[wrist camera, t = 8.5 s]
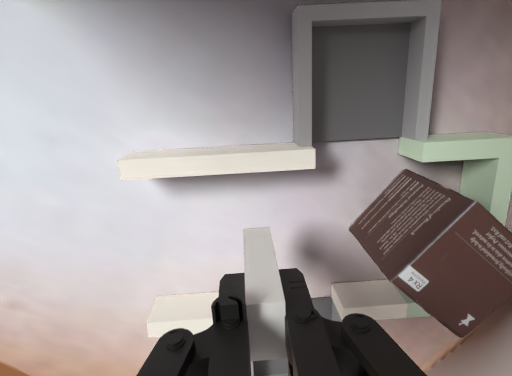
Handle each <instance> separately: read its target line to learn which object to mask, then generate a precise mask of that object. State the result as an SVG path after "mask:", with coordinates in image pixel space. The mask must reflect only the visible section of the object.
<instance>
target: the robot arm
mask: <svg viewBox="0 0 512 376" xmlns="http://www.w3.org/2000/svg"><path fill="white" fill-rule="evenodd" d="M243 232H244V269H245V273H236V274H225V275H224V276H223V278H222V279H221V280H220V286H219V296H218V298H216V299H215V300H214V301H213V303H212V305H211V310H212V318H213V325H212V326H211V327H209V328H208V329H206V330H204V331H202V332H200V333H197V334H194V335H193V333H192V332H191V331H189V330H188V329H184V328H177V329H173V330H170V331H168V332H167V333H165V334H163V335H162V337H161V338H160V339H159V340H158V342H157V343H156V345H155V347H154V348H153V350H152V352H151V353H150V355H149V356H148V358H147V360H146V361H145V363H144V364H143V366H142V368H141V369H140V371H139V373H138V374H137V376H251V362H250V361H261V360H273V359H285V358H287V357H288V376H427V375H426V374H425V373H424V372H423V371H422V370H421V369H420V368H419V367H418V366H417V365H416V364H415V363H414V362H413V360H412V359H411V358H410V357H409V356H408V355H407V354H406V353H405V352H404V351H403V350H402V349H401V348H400V347H399V346H398V344H397V343H396V342H395V341H394V340H393V339H392V338H391V337H390V336H389V335H388V334H387V333H386V332H385V331H384V329H383V328H382V327H381V326H380V325H379V324H378V323H377V322H376V321H375V320H374V319H372V318H371V317H369V316H367V315H364V314H359V313H353V314H349V315H347V316H345V317H344V319H343V320H342V322H339V321H333V320H329V319H326V318H324V317H322V316H321V315H320V314H319V312H318V311H317V310H316V309H314V306H313V303H312V300H311V297H310V294H309V291H308V288H307V285H306V282H305V279H304V276H303V274H302V273H301V272H300V271H299V270H298V269H297V268H293V269H280V270H278V265H277V260H276V256H275V251H274V246H273V241H272V237H271V232H270V227H263V228H248V229H243Z"/></svg>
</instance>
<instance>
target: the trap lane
mask: <svg viewBox="0 0 512 376" xmlns="http://www.w3.org/2000/svg"><path fill="white" fill-rule="evenodd" d="M441 6H442V0H409V1H385V2H362V3H338V4H315V5H297V7H296V8H295V10H294V11H293V13H292V70H293V134H294V142H292V143H274V144H257V145H239V146H221V147H204V148H186V149H168V150H151V151H134V152H132V153H130V154H128V155H126V156H125V157H123V158H121V159H119V160H117V161H118V166H119V172H120V178H121V180H136V179H153V178H169V177H186V176H203V175H220V174H237V173H253V172H270V171H287V170H304V169H315V148H314V147H312V142H321V141H339V140H357V139H374V138H392V137H399V148H398V154H400V155H403V156H406V157H408V158H411V159H414V160H417V161H419V162H438V161H455V160H464V163H463V170H462V177H461V184H460V192H459V194H461V195H463V196H465V197H468V198H470V199H472V200H475V201H477V202H479V203H480V204H481V205H482V206H484V207H485V209H487V210H488V211H489V212H490V213H491V214H492V215H493V216H494V217H495V218H496V219H497V220H498V221H499V222H500V223H502V224H503V225H504V226H505V224H506V218H507V213H508V208H509V202H510V197H511V192H512V136H511V135H505V134H498V133H491V132H468V133H451V134H433V135H428V130H429V121H430V111H431V101H432V92H433V82H434V73H435V63H436V53H437V44H438V34H439V25H440V15H441ZM218 296H219V292H207V293H193V294H179V295H165V296H157V298H156V301H155V303H154V305H153V308H152V310H151V313H150V315H149V317H148V320H147V322H146V325H147V330H148V336H149V338H151V337H162V335H163V334H165V333H167V332H168V331H170V330H173V329H177V328H184V329H188V330H189V331H191V332H192V333H193V334H197V333H200V332H202V331H204V330H206V329H208V328H209V327H211V326H212V325H213V318H212V310H211V305H212V303H213V301H214V300H215V299H216V298H218ZM311 300H312V303H313V306H314V309H316V310H317V311H318V312H319V314H320V315H321V316H322V317H324V318H326V319H329V320H333V321H339V322H342V320H343V319H344V317H345V316H347V315H349V314H353V313H359V314H364V315H367V316H369V317H371V318H372V319H374V320H388V319H401V318H414V317H428V316H431V315H429V314H428V313H427V312H425V311H424V310H423V309H422V308H421V307H420V306H419V305H418V304H416V303H415V302H414V301H413V300H411V299H410V298H409V297H408V296H406V295H405V294H404V293H402V292H401V291H400V290H399V289H397V288H396V287H395V286H394V285H392V284H391V283H390V282H389V280H374V281H360V282H346V283H332V284H331V297H321V298H311ZM250 362H251V376H288V357H287V358H285V359H273V360H261V361H250Z"/></svg>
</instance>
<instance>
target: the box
mask: <svg viewBox="0 0 512 376" xmlns="http://www.w3.org/2000/svg"><path fill="white" fill-rule="evenodd" d="M349 231H350V232H351V233H352V234H353V235H354V236H355V237H356V239H357V240H358V241H359V243H360V244H361V245H362V247H363V248H364V249H365V250H366V252H367V253H368V254H369V256H370V257H371V258H372V259H373V261H374V262H375V263H376V264H377V266H378V267H379V268H380V270H381V271H382V272H383V273H384V274H385V276H386V277H387V279H388V280H389V282H390V283H391V284H392V285H394V286H395V287H396V288H397V289H399V290H400V291H401V292H402V293H404V294H405V295H406V296H408V297H409V298H410V299H411V300H413V301H414V302H415V303H416V304H418V305H419V306H420V307H421V308H422V309H423V310H424V311H425V312H427V313H428V314H429V315H431V316H432V317H434V318H436V319H437V320H438V321H439V322H440V323H442V324H443V325H444V326H445V327H447V328H448V329H449V330H450V331H451V332H453V333H454V334H455V335H457V336H459V337H461V338H462V337H464V336H465V335H467V334H468V333H469V332H470V331H471V330H473V329H474V328H475V327H476V326H477V325H478V324H479V323H480V322H481V321H482V320H483V319H485V318H486V317H487V316H488V315H489V314H490V313H491V312H493V311H494V310H495V309H496V308H497V307H499V305H501V304H502V303H503V302H504V301H505V300H506V299H508V298H509V297H510V296H511V295H512V233H511V232H510V231H509V230H508V229H507V228H506V227H505V226H504V225H503V224H502V223H500V222H499V221H498V220H497V219H496V218H495V217H494V216H493V215H492V214H491V213H490V212H489V211H488V210H487V209H485V207H484V206H482V205H481V204H480V203H479V202H477V201H475V200H472V199H470V198H468V197H465V196H463V195H461V194H459V193H457V192H455V191H453V190H451V189H449V188H447V187H445V186H442V185H440V184H438V183H436V182H434V181H432V180H429V179H427V178H425V177H423V176H421V175H418V174H416V173H414V172H412V171H410V170H408V169H405V170H403V171H401V173H400V174H399V175H398V176H397V177H396V178H395V179H394V180H393V181H392V182H391V183H390V184H389V185H388V187H387V188H386V189H385V190H384V191H383V192H382V193H381V194H380V195H379V196H378V197H377V198H376V200H374V202H373V203H372V204H371V205H370V206H369V207H368V208H367V209H366V210H365V211H364V212H363V213H362V214H361V215H360V216H359V217H358V218H357V219H356V220H355V221H354V222H353V223H352V224H351V226H350V227H349Z"/></svg>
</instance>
